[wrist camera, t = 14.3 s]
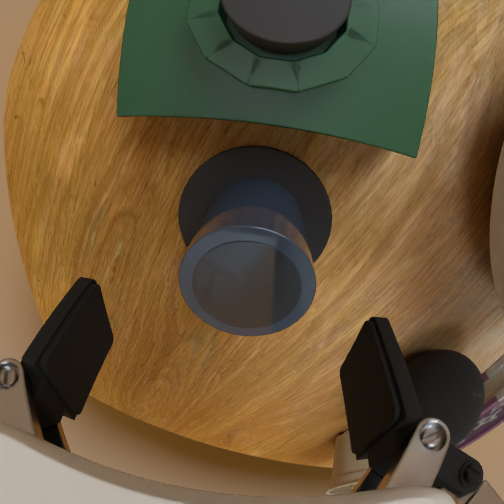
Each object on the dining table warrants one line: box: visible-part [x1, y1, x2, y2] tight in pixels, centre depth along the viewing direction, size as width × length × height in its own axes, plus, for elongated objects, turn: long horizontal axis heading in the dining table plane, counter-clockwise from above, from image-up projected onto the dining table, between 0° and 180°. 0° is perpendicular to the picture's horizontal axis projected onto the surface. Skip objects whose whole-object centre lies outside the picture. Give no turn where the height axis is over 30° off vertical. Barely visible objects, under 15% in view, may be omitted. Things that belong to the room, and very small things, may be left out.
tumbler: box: [179, 178, 316, 336], centre depth 14 cm, size 6×6×6 cm
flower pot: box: [326, 430, 369, 495], centre depth 28 cm, size 9×9×9 cm
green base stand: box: [117, 0, 438, 158], centre depth 9 cm, size 14×10×5 cm
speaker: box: [406, 350, 485, 446], centre depth 19 cm, size 10×10×10 cm
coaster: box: [179, 146, 332, 263], centre depth 17 cm, size 9×9×1 cm
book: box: [455, 355, 504, 450], centre depth 28 cm, size 25×16×5 cm, turn 149°
